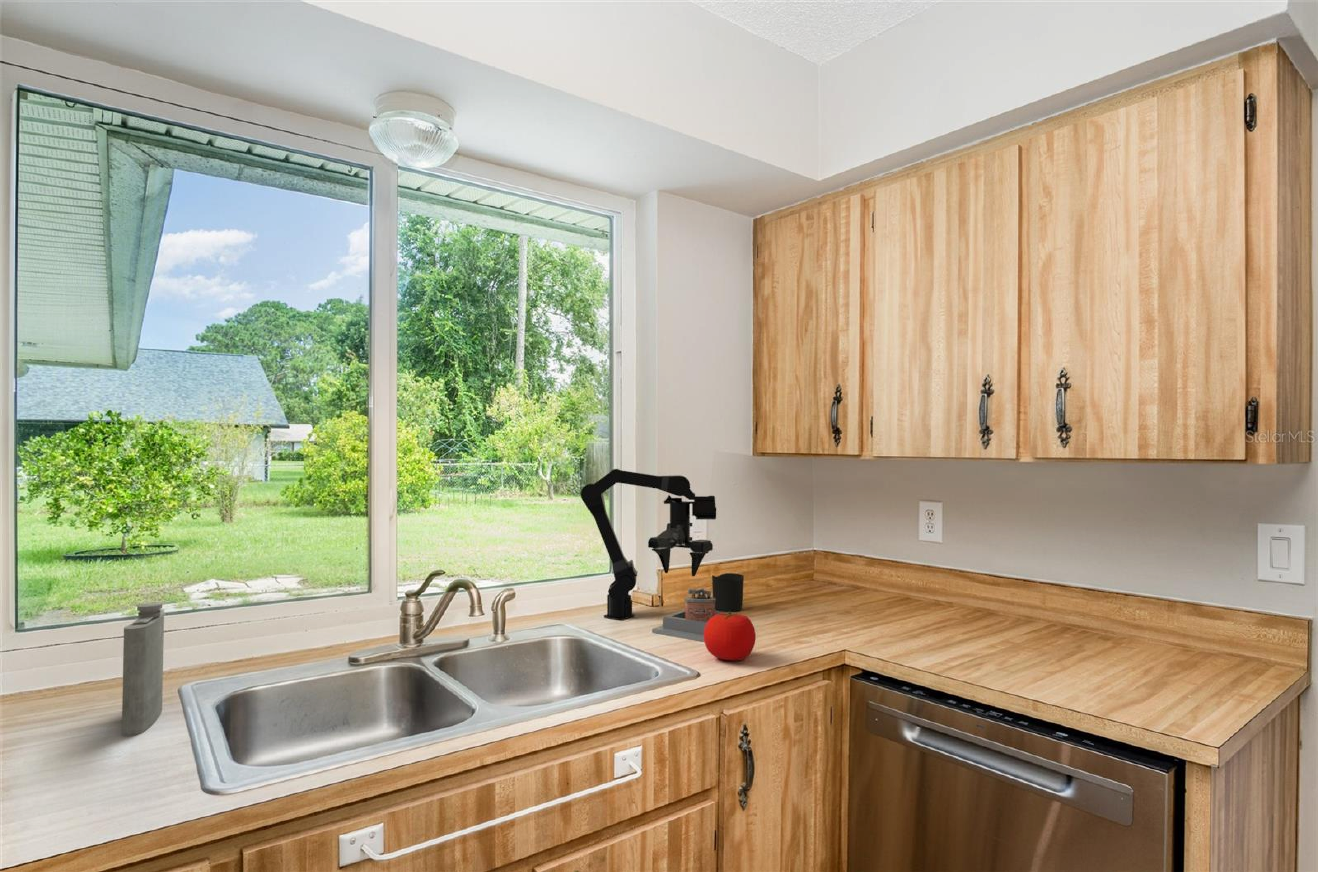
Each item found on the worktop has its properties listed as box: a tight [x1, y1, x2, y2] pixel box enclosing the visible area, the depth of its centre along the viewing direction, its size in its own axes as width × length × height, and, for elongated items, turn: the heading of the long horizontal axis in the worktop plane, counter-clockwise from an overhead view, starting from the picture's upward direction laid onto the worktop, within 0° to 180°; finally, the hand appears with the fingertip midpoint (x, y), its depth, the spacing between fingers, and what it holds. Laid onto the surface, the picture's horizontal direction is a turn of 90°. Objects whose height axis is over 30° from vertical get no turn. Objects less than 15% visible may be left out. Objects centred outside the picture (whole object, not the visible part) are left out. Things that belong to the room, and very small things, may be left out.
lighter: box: [684, 587, 716, 622], centre depth 187 cm, size 8×3×10 cm, turn 86°
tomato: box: [703, 612, 757, 661], centre depth 162 cm, size 11×12×10 cm
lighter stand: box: [651, 609, 726, 643], centre depth 187 cm, size 18×18×4 cm
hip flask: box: [121, 602, 165, 737], centre depth 125 cm, size 16×4×20 cm, turn 24°
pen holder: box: [711, 572, 744, 613], centre depth 214 cm, size 9×9×10 cm
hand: (679, 574), depth 203 cm, fingers open, 9 cm apart
